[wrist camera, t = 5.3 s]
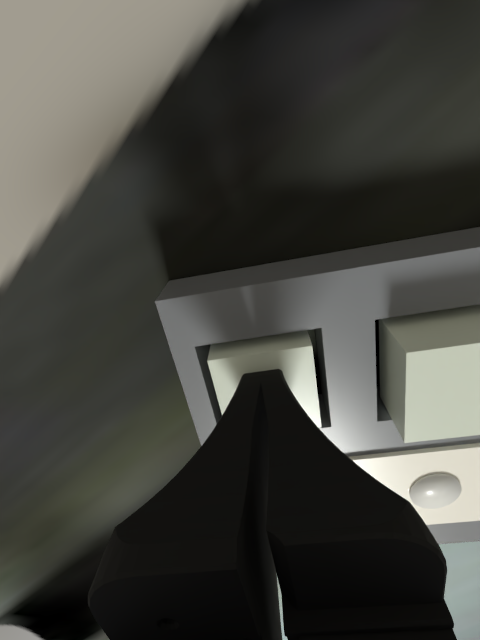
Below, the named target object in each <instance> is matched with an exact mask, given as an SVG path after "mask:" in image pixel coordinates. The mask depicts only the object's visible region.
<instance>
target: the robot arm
mask: <svg viewBox="0 0 480 640" xmlns="http://www.w3.org/2000/svg"><path fill="white" fill-rule="evenodd" d="M276 573H277V575H276ZM446 574H447V566H446V559H445V557H444V555H443V553H442V551H441V549H440V547H439V545H438V543H437V541H436V540H435V538H434V536H433V535H432V533H431V532H430V530H429V528H428V527H427V525H426V524H425V522H424V521H423V519H422V518H421V516H420V515H419V514H418V512H417V511H416V510H415V508H414V507H413V505H412V504H411V503H410V502H409V501H408V500H406V499H405V498H403V497H402V496H400V495H398V494H397V493H395V492H394V491H392V490H391V489H389V488H388V487H386V486H385V485H383V484H382V483H381V482H379V481H378V480H376V479H375V478H374V477H372V476H371V475H370V474H368V473H367V472H366V471H364V470H363V469H362V468H361V467H360V466H358V465H357V464H356V463H355V462H354V461H353V460H351V459H350V458H349V457H348V456H347V455H345V454H344V453H343V452H342V451H341V450H340V449H339V448H338V447H337V446H336V445H335V444H334V443H332V442H331V441H330V440H329V439H328V438H327V436H326V435H325V434H324V433H323V432H322V431H321V430H320V429H319V428H318V427H317V426H316V424H315V423H314V422H313V421H312V420H311V418H310V417H309V416H308V415H307V413H306V412H305V411H304V409H303V408H302V407H301V405H300V404H299V402H298V401H297V399H296V398H295V396H294V395H293V393H292V391H291V390H290V388H289V386H288V384H287V382H286V380H285V378H284V375H283V371H281V370H280V369H273V370H267V371H259V372H252V373H245V374H243V376H242V377H241V379H240V382H239V384H238V386H237V388H236V391H235V393H234V395H233V397H232V399H231V400H230V402H229V404H228V406H227V408H226V410H225V412H224V413H223V415H222V417H221V418H220V420H219V421H218V423H217V424H216V426H215V428H214V429H213V431H212V432H211V434H210V435H209V437H208V438H207V439H206V441H205V442H204V443H203V445H202V446H201V447H200V449H199V450H198V451H197V452H196V454H195V455H194V456H193V457H192V458H191V459H190V461H189V462H188V463H187V464H186V465H185V466H184V468H183V469H182V470H181V471H180V472H179V473H178V474H177V475H176V476H175V477H174V478H173V479H172V480H171V481H170V482H169V483H168V484H167V485H166V486H165V487H164V488H163V489H162V490H160V491H159V492H158V493H157V494H156V495H155V496H154V497H153V498H152V499H150V500H149V501H148V502H147V503H146V504H144V505H143V506H142V507H141V508H139V509H138V510H137V511H136V512H134V513H133V514H132V515H131V516H129V517H128V518H127V519H126V520H124V521H123V522H122V523H120V524H119V525H118V526H116V527H115V529H114V531H113V534H112V536H111V538H110V540H109V542H108V544H107V546H106V548H105V551H104V553H103V556H102V558H101V561H100V564H99V566H98V569H97V572H96V574H95V577H94V580H93V582H92V585H91V588H90V590H89V593H88V606H89V608H90V610H91V612H92V614H93V616H94V618H95V619H96V621H97V622H98V624H99V625H100V626H101V628H102V629H103V631H104V632H105V633H106V635H107V636H108V638H109V639H110V640H282V633H281V622H280V610H279V599H278V587H277V577H278V581H279V585H280V589H281V593H282V607H283V622H284V633H285V636H287V638H288V640H457V639H456V636H455V634H454V632H453V629H452V628H453V627H454V623H453V619H452V617H451V614H450V612H449V610H448V607H447V605H446V603H445V600H444V591H445V583H446Z"/></svg>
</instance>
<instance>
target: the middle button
mask: <svg viewBox="0 0 480 640" xmlns="http://www.w3.org/2000/svg"><path fill="white" fill-rule="evenodd" d="M379 362H380V397H381V399H382V401H383V403H384V405H385V407H386V409H387V411H388V413H389V415H390V416H391V418H392V420H393V422H394V424H395V426H396V428H397V430H398V432H399V434H400V436H401V437H402V439H403V441H404V443H410V442H419V441H428V440H438V439H447V438H456V437H465V436H475V435H480V304H478V305H471V306H464V307H457V308H451V309H444V310H437V311H431V312H424V313H417V314H410V315H404V316H397V317H390V318H384V319H379Z"/></svg>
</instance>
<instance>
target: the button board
mask: <svg viewBox="0 0 480 640" xmlns="http://www.w3.org/2000/svg"><path fill="white" fill-rule="evenodd" d="M155 303H156V306H157V309H158V312H159V315H160V319H161V322H162V325H163V328H164V331H165V334H166V337H167V340H168V343H169V347H170V350H171V353H172V356H173V359H174V362H175V365H176V368H177V371H178V375H179V378H180V381H181V384H182V387H183V390H184V393H185V396H186V399H187V403H188V406H189V409H190V412H191V415H192V418H193V421H194V424H195V427H196V431H197V434H198V437H199V440H200V443H201V446H202V445H203V443H204V442H205V441H206V439H207V438H208V437H209V435H210V434H211V432H212V431H213V429H214V428H215V426H216V424H217V423H218V421H219V420H220V418H221V417H222V413H221V410H220V406H219V402H218V399H217V395H216V391H215V388H214V384H213V380H212V377H211V373H210V369H209V366H208V362H207V360H208V355H209V351H210V348H209V344H216V343H223V342H229V341H236V340H243V339H249V338H256V337H263V336H270V335H276V334H283V333H290V332H296V331H303V330H310V329H315V335H316V344H317V353H318V362H319V372H320V381H321V390H322V394H318V400H319V409H320V418H321V428H319V429H320V430H321V431H322V432H323V433H324V434H325V435H326V436H327V438H328V439H329V440H330V441H331V442H332V443H334V444H335V445H336V446H337V447H338V448H339V449H340V450H341V451H342V452H343V453H344V454H345V455H347V456H348V457H349V458H350V459H351V460H353V461H354V462H355V463H356V464H357V465H358V466H360V467H361V468H362V469H363V470H364V471H366V472H367V473H368V474H370V475H371V476H372V477H374V478H375V479H376V480H378V481H379V482H381V483H382V484H383V485H385V486H386V487H388V488H389V489H391V490H392V491H394V492H395V493H397V494H398V495H400V496H402V497H403V498H405V499H406V500H408V501H409V502H410V503H411V504H412V505H413V507H414V508H415V510H416V511H417V512H418V514H419V515H420V516H421V518H422V519H423V521H424V522H425V524H426V525H427V527H428V528H429V530H430V532H431V533H432V535H433V536H434V538H435V540H436V541H437V543H438V544H447V543H460V542H474V541H480V435H475V436H465V437H456V438H447V439H438V440H428V441H419V442H410V443H404V441H403V439H402V437H401V436H400V434H399V432H398V430H397V428H396V426H395V424H394V422H393V420H392V418H391V416H390V415H389V413H388V411H387V409H386V407H385V405H384V403H383V401H382V399H381V397H380V387H376V344H375V320H377V319H384V318H390V317H397V316H404V315H410V314H417V313H424V312H431V311H437V310H444V309H451V308H457V307H464V306H471V305H478V304H480V227H476V228H470V229H464V230H458V231H453V232H447V233H441V234H435V235H430V236H424V237H418V238H412V239H407V240H401V241H395V242H389V243H384V244H378V245H372V246H366V247H360V248H355V249H349V250H343V251H337V252H332V253H326V254H320V255H314V256H309V257H303V258H297V259H291V260H286V261H280V262H274V263H268V264H262V265H257V266H251V267H245V268H239V269H234V270H228V271H222V272H216V273H211V274H205V275H199V276H193V277H188V278H182V279H176V280H170V281H168V283H167V284H166V286H165V287H164V289H163V290H162V292H161V293H160V295H159V296H158V298H157V299H156V301H155Z"/></svg>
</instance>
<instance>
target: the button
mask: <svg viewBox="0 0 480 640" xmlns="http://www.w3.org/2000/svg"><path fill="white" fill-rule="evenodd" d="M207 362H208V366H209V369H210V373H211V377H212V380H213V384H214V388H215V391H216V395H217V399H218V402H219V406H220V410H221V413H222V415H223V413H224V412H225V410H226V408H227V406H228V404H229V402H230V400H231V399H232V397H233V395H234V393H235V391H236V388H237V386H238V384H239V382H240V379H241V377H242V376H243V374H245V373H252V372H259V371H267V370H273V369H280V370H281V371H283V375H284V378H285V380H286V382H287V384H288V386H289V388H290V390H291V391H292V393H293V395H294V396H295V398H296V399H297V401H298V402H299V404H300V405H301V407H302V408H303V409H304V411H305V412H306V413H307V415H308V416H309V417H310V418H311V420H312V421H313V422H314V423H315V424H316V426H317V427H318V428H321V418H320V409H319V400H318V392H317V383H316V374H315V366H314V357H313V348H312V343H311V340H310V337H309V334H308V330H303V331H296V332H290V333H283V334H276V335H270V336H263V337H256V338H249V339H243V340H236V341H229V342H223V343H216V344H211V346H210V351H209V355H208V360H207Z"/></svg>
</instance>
